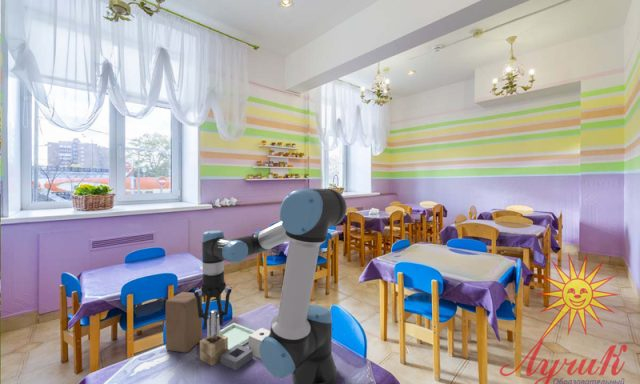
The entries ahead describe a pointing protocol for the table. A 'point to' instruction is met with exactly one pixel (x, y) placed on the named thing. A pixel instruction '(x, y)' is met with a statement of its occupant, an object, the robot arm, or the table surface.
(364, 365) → the table surface
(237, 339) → the mint tray
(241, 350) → the pin stand
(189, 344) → the wooden block
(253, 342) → the white cube
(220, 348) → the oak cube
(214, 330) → the steel pin
